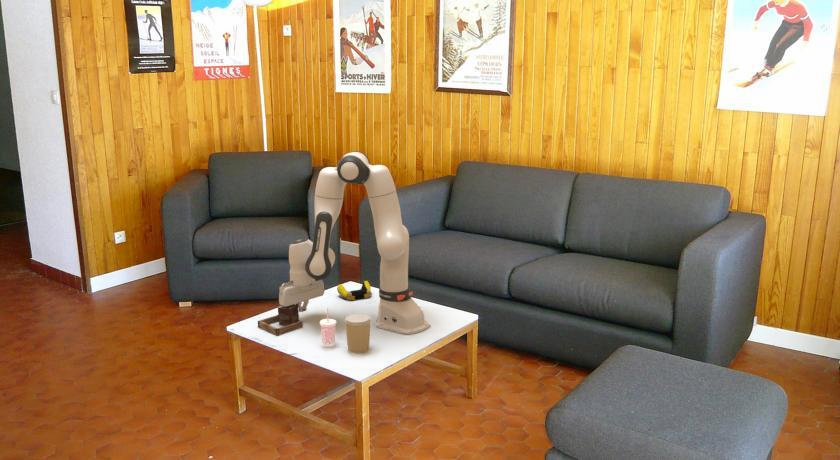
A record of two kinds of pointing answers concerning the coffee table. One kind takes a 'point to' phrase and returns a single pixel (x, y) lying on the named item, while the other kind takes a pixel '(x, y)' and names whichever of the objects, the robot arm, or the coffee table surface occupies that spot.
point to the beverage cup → (328, 331)
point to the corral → (266, 326)
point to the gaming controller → (355, 292)
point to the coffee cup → (358, 332)
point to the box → (288, 314)
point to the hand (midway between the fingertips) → (302, 311)
